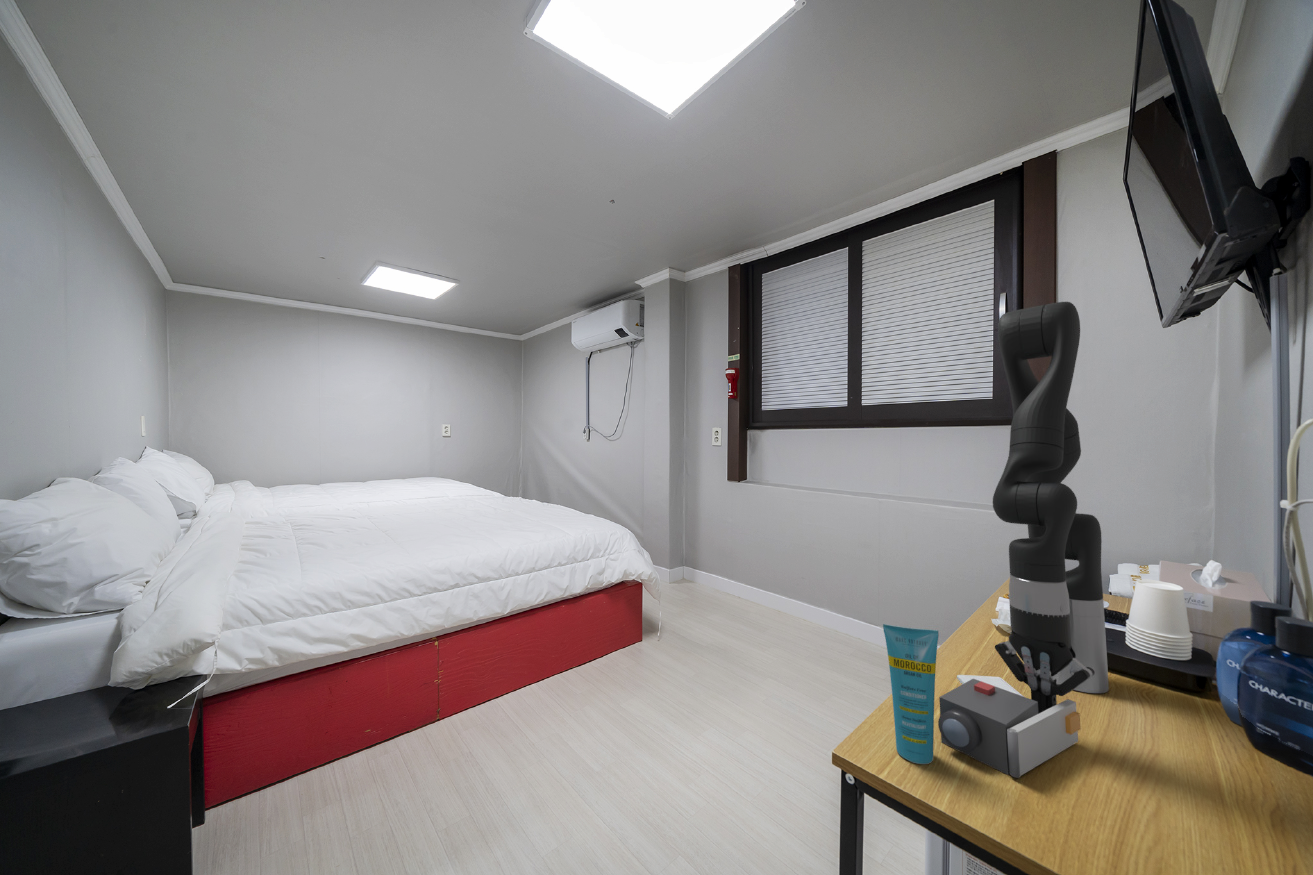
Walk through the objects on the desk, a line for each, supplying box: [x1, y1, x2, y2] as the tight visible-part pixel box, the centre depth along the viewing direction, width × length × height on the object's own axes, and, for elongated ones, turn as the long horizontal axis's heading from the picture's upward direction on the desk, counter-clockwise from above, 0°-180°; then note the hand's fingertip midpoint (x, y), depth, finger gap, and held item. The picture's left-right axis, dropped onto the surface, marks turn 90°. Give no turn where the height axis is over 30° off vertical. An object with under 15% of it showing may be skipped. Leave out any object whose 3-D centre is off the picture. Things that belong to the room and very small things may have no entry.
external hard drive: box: [956, 674, 1025, 697], centre depth 86 cm, size 2×8×12 cm
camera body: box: [937, 679, 1038, 776], centre depth 71 cm, size 13×9×8 cm
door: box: [1007, 698, 1082, 779], centre depth 68 cm, size 18×2×6 cm, turn 116°
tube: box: [882, 623, 939, 765], centre depth 70 cm, size 7×5×19 cm, turn 69°
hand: (1044, 714), depth 74 cm, fingers closed
